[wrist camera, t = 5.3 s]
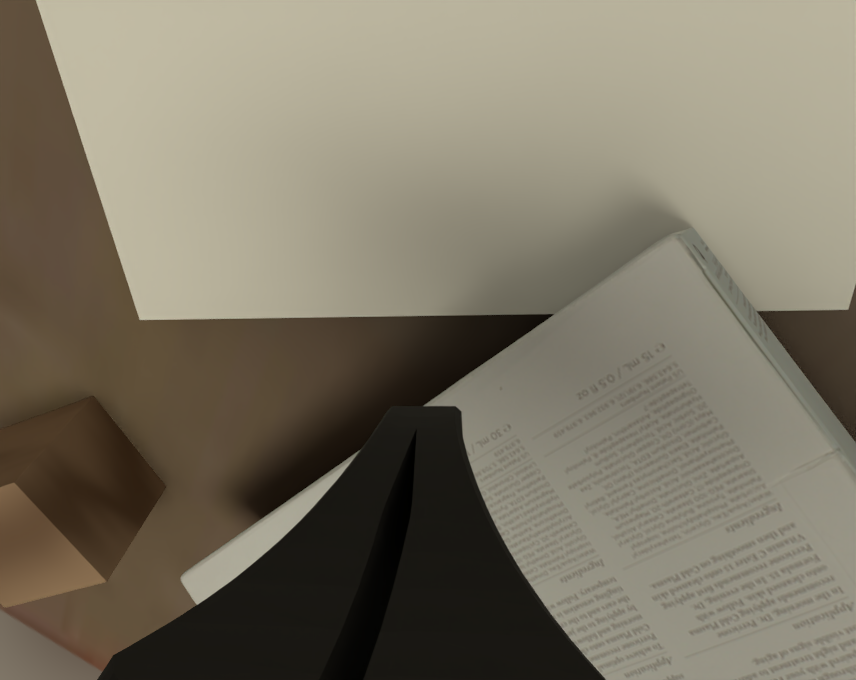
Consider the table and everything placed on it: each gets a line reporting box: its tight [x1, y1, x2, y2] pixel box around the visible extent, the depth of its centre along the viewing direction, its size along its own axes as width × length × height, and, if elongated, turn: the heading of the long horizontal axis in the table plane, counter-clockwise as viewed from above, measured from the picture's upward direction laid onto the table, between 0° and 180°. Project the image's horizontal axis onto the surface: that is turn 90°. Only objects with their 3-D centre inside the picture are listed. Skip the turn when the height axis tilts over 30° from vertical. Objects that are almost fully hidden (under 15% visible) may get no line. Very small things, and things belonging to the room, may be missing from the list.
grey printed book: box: [181, 227, 856, 680], centre depth 21 cm, size 21×5×16 cm
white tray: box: [36, 0, 856, 320], centre depth 17 cm, size 17×23×2 cm
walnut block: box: [0, 396, 166, 608], centre depth 26 cm, size 5×5×5 cm
